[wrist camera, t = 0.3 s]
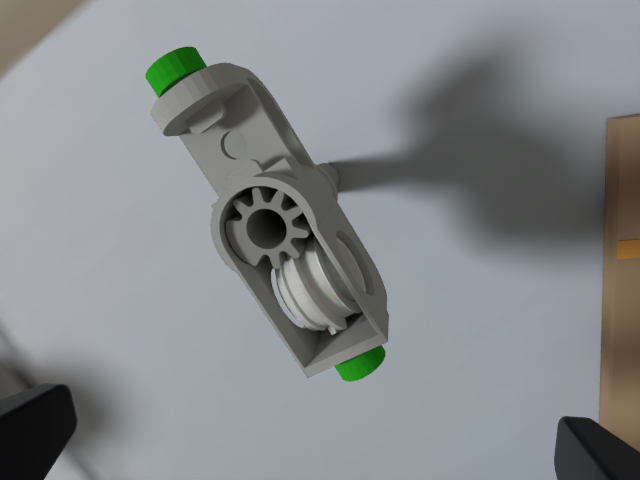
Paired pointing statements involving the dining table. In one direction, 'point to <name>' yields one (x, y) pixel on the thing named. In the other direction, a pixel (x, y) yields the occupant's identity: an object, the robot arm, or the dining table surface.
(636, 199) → the pipe stand
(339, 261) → the mechanical component
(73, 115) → the dining table surface
